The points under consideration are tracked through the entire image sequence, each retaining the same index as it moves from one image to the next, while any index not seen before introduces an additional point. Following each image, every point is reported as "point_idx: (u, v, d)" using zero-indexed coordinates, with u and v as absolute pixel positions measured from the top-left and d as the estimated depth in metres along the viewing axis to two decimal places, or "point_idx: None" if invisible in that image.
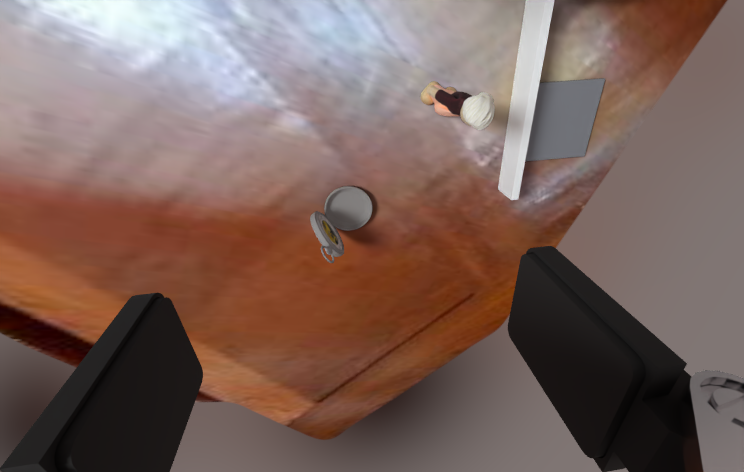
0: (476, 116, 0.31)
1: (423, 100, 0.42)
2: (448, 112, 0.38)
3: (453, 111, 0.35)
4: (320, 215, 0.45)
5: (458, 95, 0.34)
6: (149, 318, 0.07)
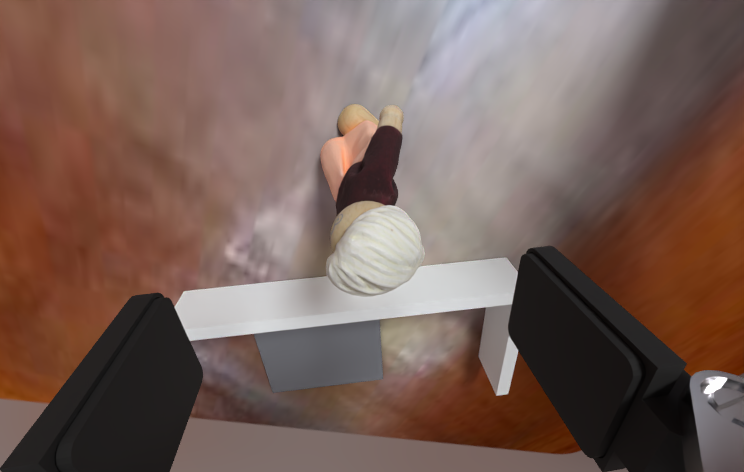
0: (374, 258, 0.10)
1: (347, 110, 0.19)
2: (338, 168, 0.16)
3: (357, 180, 0.13)
4: None
5: (394, 186, 0.13)
6: (149, 318, 0.07)
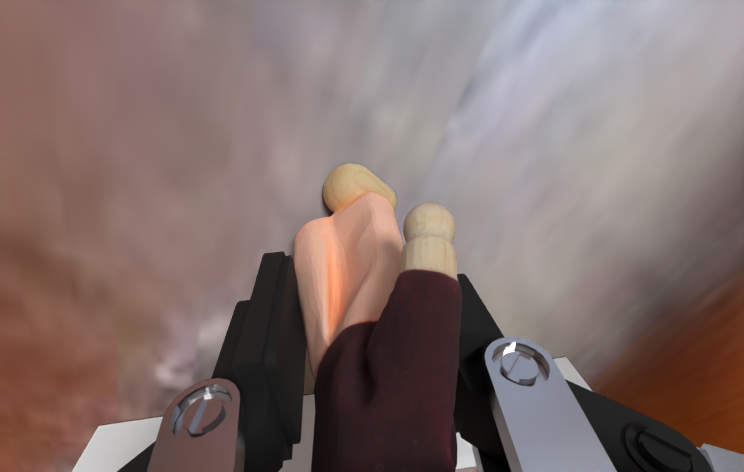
0: None
1: (337, 175, 0.11)
2: (319, 309, 0.08)
3: (359, 435, 0.05)
4: None
5: None
6: (285, 270, 0.09)
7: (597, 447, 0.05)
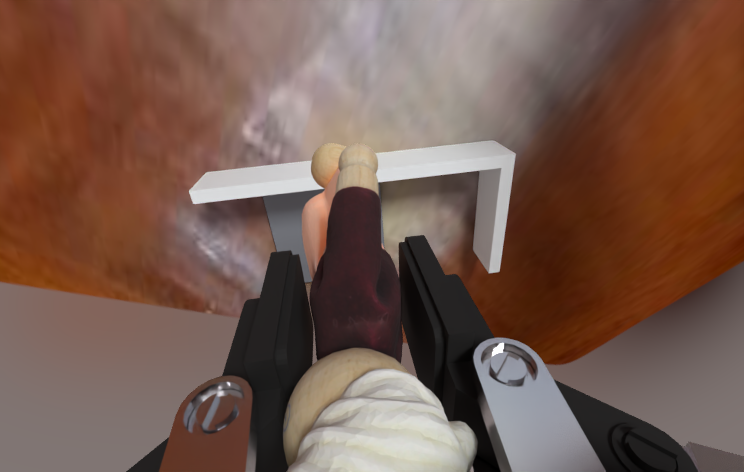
0: None
1: (317, 157, 0.14)
2: (313, 255, 0.10)
3: (318, 305, 0.07)
4: None
5: (390, 284, 0.08)
6: (293, 269, 0.09)
7: (582, 448, 0.05)
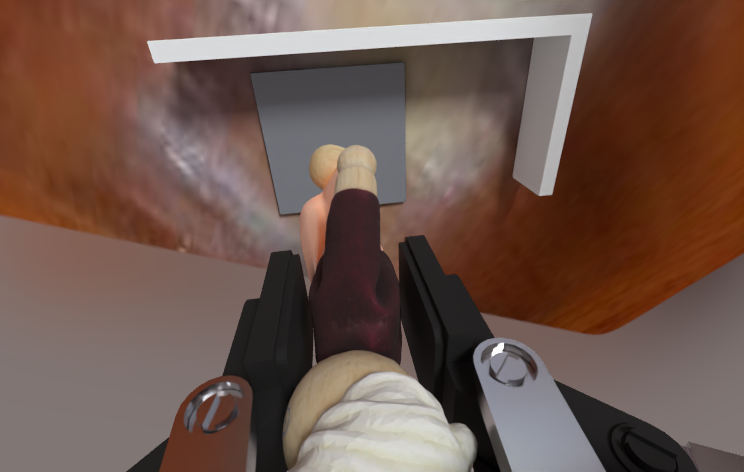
0: None
1: (315, 158, 0.14)
2: (311, 257, 0.10)
3: (317, 308, 0.07)
4: None
5: (389, 286, 0.08)
6: (293, 269, 0.09)
7: (582, 447, 0.05)
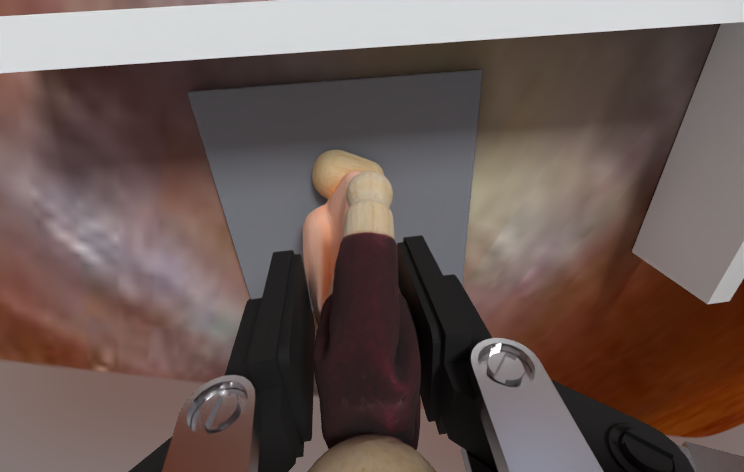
0: None
1: (318, 166, 0.12)
2: (315, 288, 0.09)
3: (324, 380, 0.06)
4: None
5: (408, 346, 0.06)
6: (295, 268, 0.09)
7: (579, 448, 0.05)
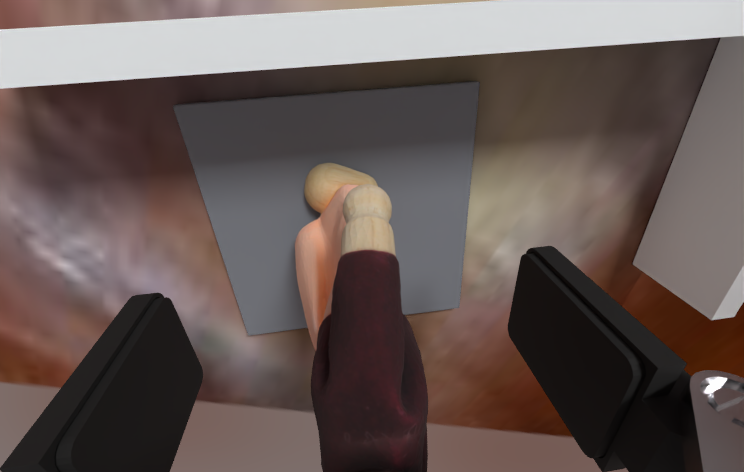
0: None
1: (311, 179, 0.12)
2: (311, 308, 0.09)
3: (324, 412, 0.05)
4: None
5: (413, 371, 0.06)
6: (149, 318, 0.07)
7: None
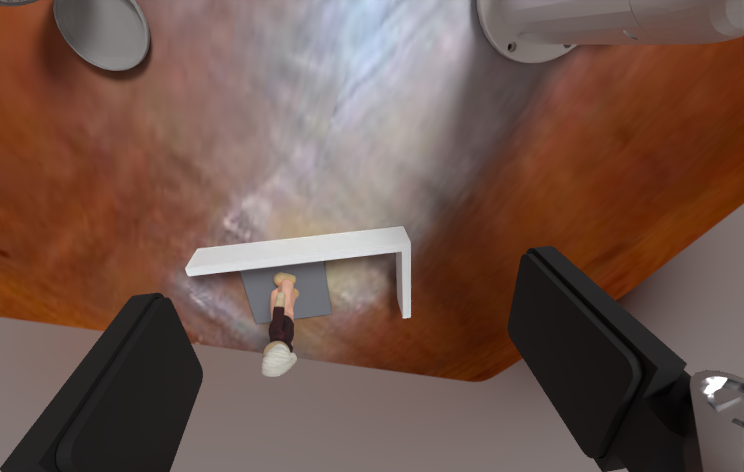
0: (270, 368, 0.32)
1: (274, 277, 0.41)
2: (271, 315, 0.38)
3: (270, 332, 0.35)
4: None
5: (286, 326, 0.35)
6: (149, 318, 0.07)
7: None
